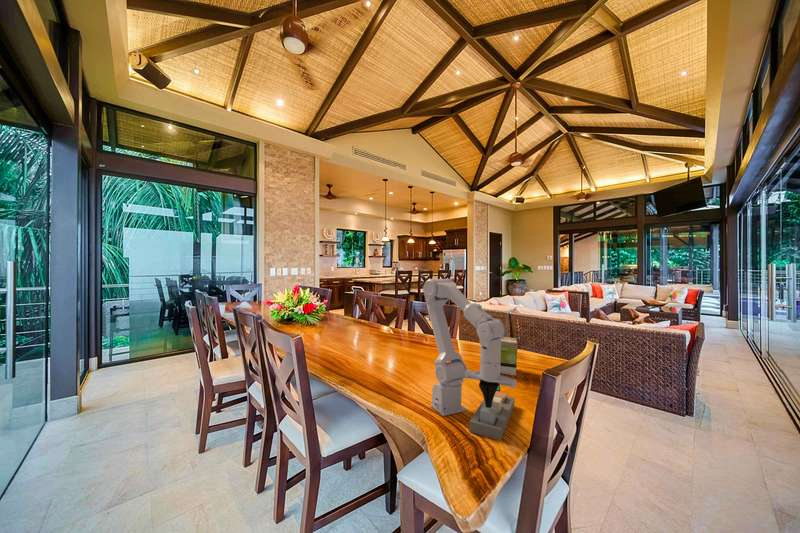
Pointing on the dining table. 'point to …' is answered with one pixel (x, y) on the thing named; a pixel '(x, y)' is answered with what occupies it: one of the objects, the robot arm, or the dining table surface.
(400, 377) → the dining table surface
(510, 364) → the tea box
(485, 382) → the robot arm
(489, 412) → the slate key
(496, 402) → the white key
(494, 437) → the key panel
